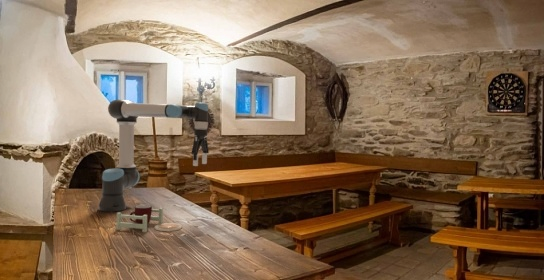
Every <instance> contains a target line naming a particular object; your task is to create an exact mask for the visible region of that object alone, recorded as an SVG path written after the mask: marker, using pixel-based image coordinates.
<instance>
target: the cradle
mask: <svg viewBox="0 0 544 280" xmlns="http://www.w3.org/2000/svg"><path fill="white" fill-rule="evenodd" d="M152 213H158V216H156V215H155V216H154V215H151V218H150V221H153V222H155V221H156V222H158V224H163V222H164V221H163V220H164V218H163V217H164V207H159V208H158V209H157V208H155V209H154V208H152ZM129 218H131V219H132V220H136V219H143V224H137V222H126V221H125V222H122V219H129ZM122 228H128V229H130V228H131V229H141V230H142V231H141V232H142V233H147V232H148V226H147V215H143V216H135V215H133V214H132V215H130V214H122V212H116V231H121V230H122Z"/></svg>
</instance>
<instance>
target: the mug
mask: <svg viewBox="0 0 544 280" xmlns="http://www.w3.org/2000/svg"><path fill="white" fill-rule="evenodd" d="M152 209H153V207H152V205H149V204H139V205H138V204H137V205H135V206H134V211H132V212H131V213H129V215H132V216H133V215H134V216H143V215H147V227H148V225H149V224H150V221H151V220H150V218H151V216H152V213H153V212H152ZM128 219H129V220H130V221H131V223H136V224H143V219H136V220H135V219H132V218H128Z"/></svg>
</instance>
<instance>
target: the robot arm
mask: <svg viewBox="0 0 544 280" xmlns="http://www.w3.org/2000/svg"><path fill="white" fill-rule="evenodd" d="M107 111H108V114H109V116H111V118H114V119H116V123H117V125H119V126H118V128H119V129H118V131H119V132H118V134H119V135H118V164H117V165H116V166H115V168H108V169H105V170H104V171H102V176H101V180H102V181H101V182H102V183H101V184H102V185H101V197H100V201H99V204H98V211H100V212H106V213H108V212H109V213H111V212H122V211H125V210H126V209H127V203H126V200H125V197H124V190H125V189H130V188H133V187H135V186H136V185H137V184H138V183H139V181H140V173H139V171H138V170H137V165H136V164H135V159H134V158H135V157H134V155H135V152H134V151H135V150H134V149H135V148H134V147H135V143H134V142H135V140H134V139H135V125H136V124H137V120H138V118H139V117H146V118H147V117H149V118H170V119H171V118H172V119H194V136H196V137H194V138H193V144H192V149H191V155H193V157H192V166H194V167H198V166H199V151H200V148H201V150H202V153H201V155H202V156H201V164H202V165H207V163H208V154H209V152H210V151H209V150H210V149H209V145H208V137H207V136H208V125H209V123H208V121H209V120H208V119H209V104H208V103H207V102H195V104H194V105H182V104H177V103H172V104H169V103H168V104H167V103H147V102H146V103H140V102H139V103H138V102H134V101H132V100H128V99H114V100H112V101H110V103H109V104H108V107H107Z"/></svg>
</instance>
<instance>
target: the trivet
mask: <svg viewBox="0 0 544 280" xmlns="http://www.w3.org/2000/svg"><path fill="white" fill-rule="evenodd" d="M154 229H155V230H156V231H159V232H175V231H179V230H182V229H183V225H182V224H180V223H176V222H166V223H165V222H164V223H163V224H159V223H158V224H156V225H155V226H154Z"/></svg>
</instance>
